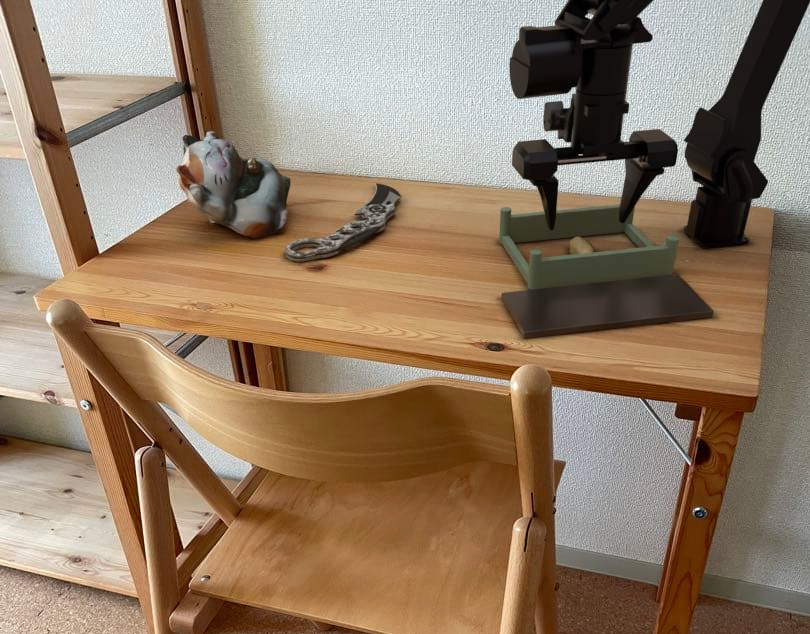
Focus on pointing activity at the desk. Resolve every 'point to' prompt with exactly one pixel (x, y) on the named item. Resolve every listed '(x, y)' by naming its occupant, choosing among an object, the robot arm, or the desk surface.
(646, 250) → the frame
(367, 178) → the desk surface
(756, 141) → the robot arm
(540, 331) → the board
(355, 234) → the knife
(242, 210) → the lucky cat figurine
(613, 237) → the desk surface
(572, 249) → the brazil nut
